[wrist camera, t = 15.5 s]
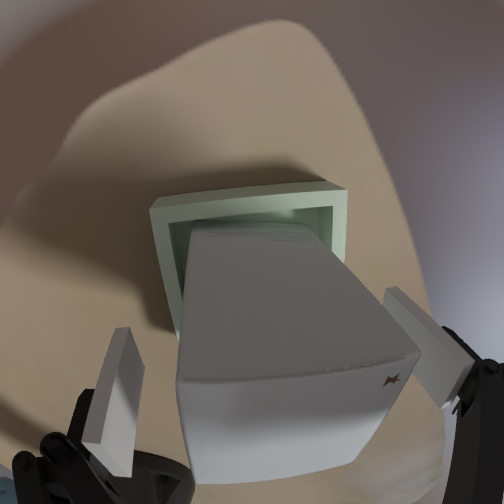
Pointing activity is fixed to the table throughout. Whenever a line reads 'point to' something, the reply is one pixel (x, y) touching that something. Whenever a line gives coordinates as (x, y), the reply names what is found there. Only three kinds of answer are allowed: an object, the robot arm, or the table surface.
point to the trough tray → (242, 210)
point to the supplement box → (280, 355)
